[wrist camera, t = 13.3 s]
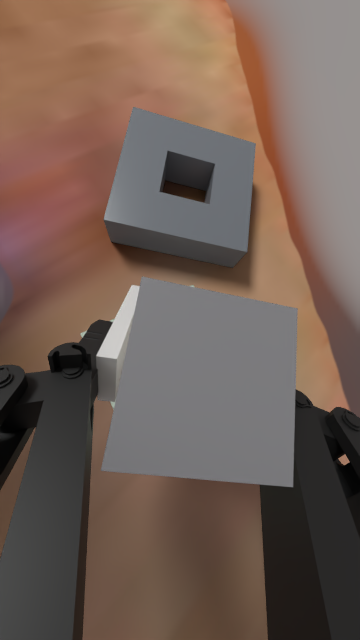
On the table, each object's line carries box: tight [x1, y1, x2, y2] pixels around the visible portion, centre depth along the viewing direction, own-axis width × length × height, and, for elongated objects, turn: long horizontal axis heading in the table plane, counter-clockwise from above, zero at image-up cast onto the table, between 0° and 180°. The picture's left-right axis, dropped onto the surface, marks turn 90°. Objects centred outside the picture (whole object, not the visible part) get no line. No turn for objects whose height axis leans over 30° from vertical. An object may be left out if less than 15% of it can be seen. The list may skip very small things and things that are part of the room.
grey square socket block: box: [104, 107, 256, 268], centre depth 22 cm, size 14×14×4 cm
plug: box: [101, 277, 297, 487], centre depth 12 cm, size 5×5×14 cm
